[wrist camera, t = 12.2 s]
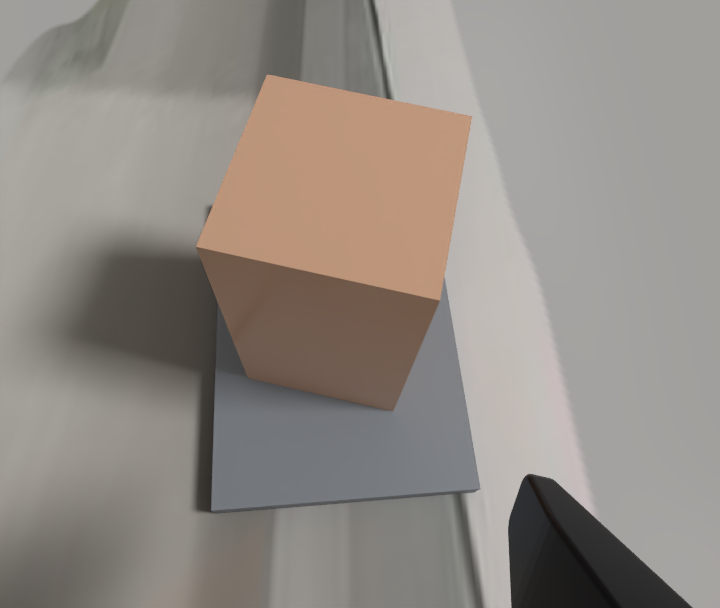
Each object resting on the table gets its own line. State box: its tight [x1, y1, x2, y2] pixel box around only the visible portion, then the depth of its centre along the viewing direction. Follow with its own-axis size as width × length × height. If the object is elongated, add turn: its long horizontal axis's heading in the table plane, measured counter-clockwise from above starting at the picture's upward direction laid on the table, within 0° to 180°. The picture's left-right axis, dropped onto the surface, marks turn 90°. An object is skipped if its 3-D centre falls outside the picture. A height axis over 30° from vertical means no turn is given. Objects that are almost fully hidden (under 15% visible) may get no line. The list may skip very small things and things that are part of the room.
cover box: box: [196, 75, 472, 411], centre depth 19 cm, size 6×6×10 cm
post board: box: [211, 277, 480, 513], centre depth 23 cm, size 14×10×4 cm
